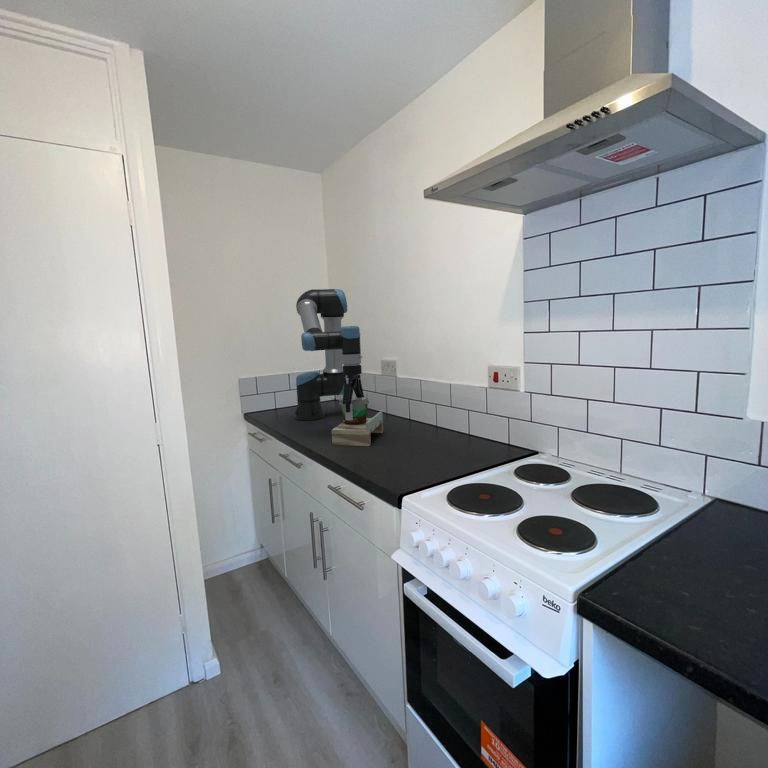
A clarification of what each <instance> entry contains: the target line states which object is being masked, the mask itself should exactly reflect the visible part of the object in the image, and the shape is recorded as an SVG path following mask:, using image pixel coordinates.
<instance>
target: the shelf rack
mask: <svg viewBox="0 0 768 768" xmlns="http://www.w3.org/2000/svg"><path fill="white" fill-rule="evenodd" d="M383 419H384V416H383V411H381V410H380V411H379V412H377V413H376V414H374V416H372V417H367V419H366V423H364V424H359V425H347V424H344V421H342V422H341V423H340V424H338V425H336V426H335V427H334V428H333V429H331V445H332V446H349V447H350V446H353V447H370V446H371V445H372V443H371V434H383V433H384V420H383Z"/></svg>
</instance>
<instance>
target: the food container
mask: <svg viewBox="0 0 768 768" xmlns="http://www.w3.org/2000/svg"><path fill="white" fill-rule="evenodd" d="M342 401H343V399H340V400H339V402H338V404H339V405H340V407H341V414H342V415H341V416H342V419H343V421H342V422H344V424H347V425H359V424H364V423H366V419H367V418H368V416H367V415H368V405H369V404H370V401H369V399H368V397H367V398H364V399H362V400H355V399H352V400H351V404H352V414H353V420H346V417H345V404H342Z"/></svg>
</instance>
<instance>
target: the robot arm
mask: <svg viewBox="0 0 768 768" xmlns="http://www.w3.org/2000/svg"><path fill="white" fill-rule="evenodd" d="M295 307H296V313H297V314H298V315H299V316H300V320H301V325H302V328H303V329H302V330H303V333H302V334H301V335H300V336H301V341H300V342H301V348H302V350H303V351H305V352H307V351H308V352H314V351H316V352H317V351H324V355H325V356H324V357H325V359H324V360H325V367H324V368H323V369H322V373H320V372H319V371H318V370H317V371H316V370H315V371H309V372H304V373H301V374H298V375H297V376H296V378H295V380H296V381H295V382H296V383H295V386H296V401H297V404H296V408H295V412H294V419H295V420H298V421H314V420H321V419H322V418H325V417H326V416H325V410H324V408H323V405H322V403H321V397H329V396H341V395H342V400H343V401H342V404H345V417H346V420H353V414H352V404H351V400H353V394H355V399H354V400H363V398H365V395H364V389H363V385H362V380H361V374H362V373H363V371H362V369H363V368H362V365H361V363H362V359H363V356H362V354H361V352H362V351H361V332H360V327H359V326H358V325H345V326H342V320H343V318H344V317H345V314H347V312H348V302H347V297H346V293H345V291H344V290H342V289H339V288H325V289H324V288H322V289H321V288H320V289H318V288H317V289H309V290H306V291H304V292H303V293H302V294H301V295H299V297H298V299H297V301H296V305H295ZM318 314H319V315H320V318H321V319H322V320H323V329H324V331H323V329H322V326H321V323H320V319H319V317H318Z"/></svg>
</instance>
